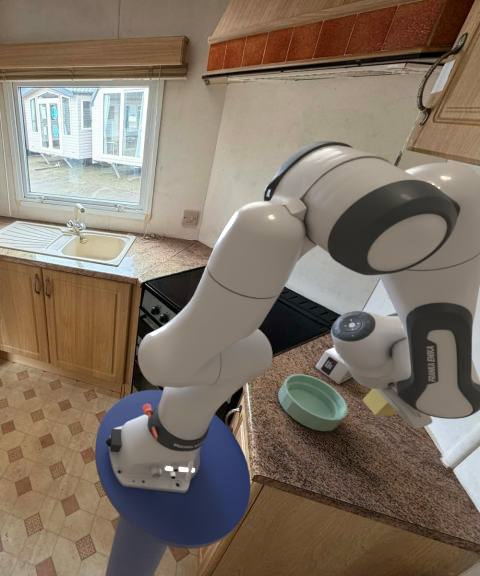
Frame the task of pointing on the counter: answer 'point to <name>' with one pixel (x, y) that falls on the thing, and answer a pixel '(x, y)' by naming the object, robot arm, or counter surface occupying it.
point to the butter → (378, 404)
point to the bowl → (312, 402)
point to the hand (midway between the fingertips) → (389, 396)
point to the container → (333, 366)
